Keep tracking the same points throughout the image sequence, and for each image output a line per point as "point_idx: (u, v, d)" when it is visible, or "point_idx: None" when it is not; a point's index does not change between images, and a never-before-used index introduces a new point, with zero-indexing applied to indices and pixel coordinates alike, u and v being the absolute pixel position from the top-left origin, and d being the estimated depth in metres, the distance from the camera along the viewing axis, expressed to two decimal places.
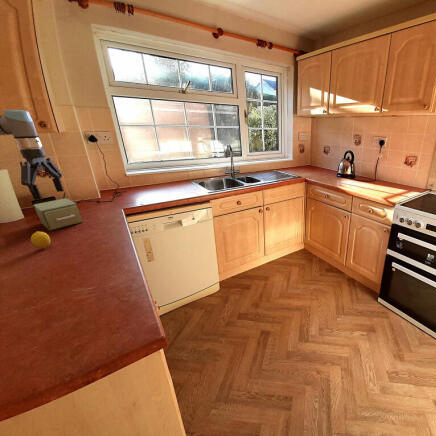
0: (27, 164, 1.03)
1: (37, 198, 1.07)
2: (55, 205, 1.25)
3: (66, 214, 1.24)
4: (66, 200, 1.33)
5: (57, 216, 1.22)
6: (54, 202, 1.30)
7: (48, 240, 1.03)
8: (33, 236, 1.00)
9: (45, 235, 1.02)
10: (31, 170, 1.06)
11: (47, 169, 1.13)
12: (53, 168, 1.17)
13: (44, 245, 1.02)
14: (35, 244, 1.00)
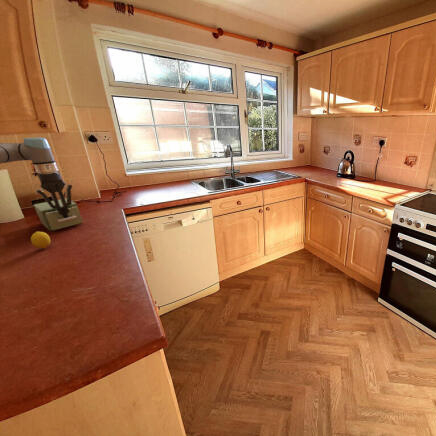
0: (39, 192, 1.11)
1: None
2: None
3: None
4: (66, 200, 1.33)
5: (58, 217, 1.20)
6: None
7: (48, 240, 1.03)
8: (33, 236, 1.00)
9: (45, 235, 1.02)
10: (51, 194, 1.15)
11: (59, 194, 1.17)
12: (67, 195, 1.19)
13: (44, 245, 1.02)
14: (35, 244, 1.00)
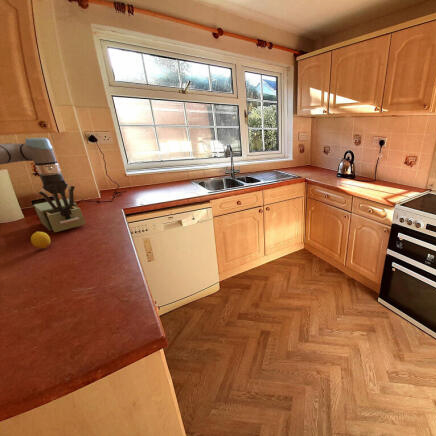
0: (41, 194, 1.08)
1: None
2: (55, 205, 1.25)
3: (70, 216, 1.21)
4: None
5: (60, 219, 1.18)
6: (54, 202, 1.30)
7: (48, 240, 1.03)
8: (33, 236, 1.00)
9: (45, 235, 1.02)
10: (53, 196, 1.13)
11: (61, 195, 1.14)
12: (69, 196, 1.17)
13: (44, 245, 1.02)
14: (35, 244, 1.00)
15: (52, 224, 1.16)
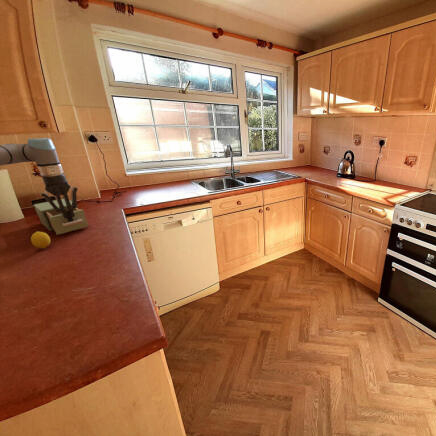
0: (44, 195, 1.06)
1: None
2: None
3: None
4: None
5: (63, 221, 1.15)
6: (54, 202, 1.30)
7: (48, 240, 1.03)
8: (33, 236, 1.00)
9: (45, 235, 1.02)
10: (56, 197, 1.10)
11: (64, 197, 1.12)
12: (72, 198, 1.14)
13: (44, 245, 1.02)
14: (35, 244, 1.00)
15: (55, 226, 1.13)
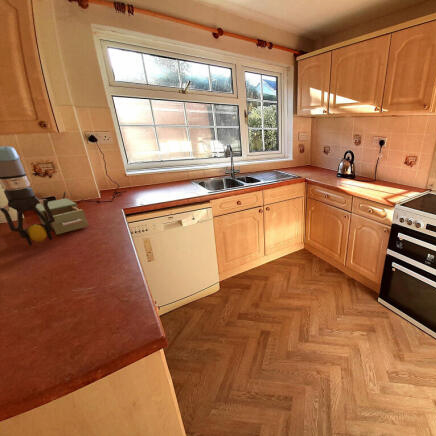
0: (3, 210, 0.92)
1: None
2: (55, 205, 1.25)
3: (72, 218, 1.18)
4: (66, 200, 1.33)
5: (63, 220, 1.16)
6: (54, 202, 1.30)
7: (45, 233, 1.02)
8: (29, 229, 0.99)
9: (42, 228, 1.01)
10: (17, 213, 0.96)
11: None
12: (46, 211, 1.02)
13: (40, 238, 1.01)
14: (31, 237, 0.99)
15: (54, 226, 1.14)
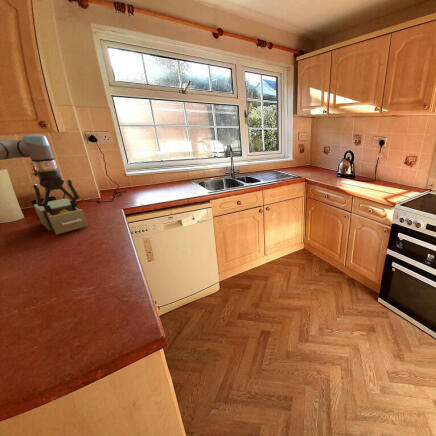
0: (35, 187, 1.10)
1: None
2: (55, 205, 1.25)
3: (72, 218, 1.18)
4: (66, 200, 1.33)
5: (63, 220, 1.16)
6: (54, 202, 1.30)
7: None
8: (60, 213, 1.19)
9: None
10: (45, 191, 1.14)
11: (62, 190, 1.18)
12: (71, 190, 1.21)
13: None
14: None
15: (54, 226, 1.14)
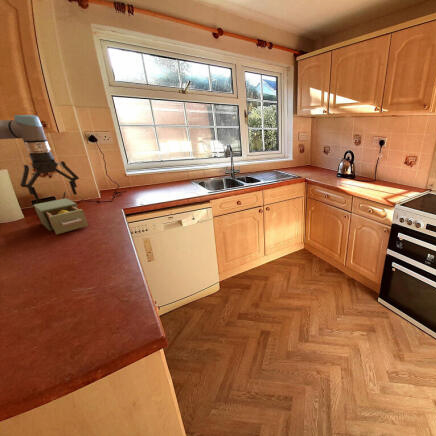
0: (25, 167, 1.06)
1: (36, 200, 1.12)
2: (55, 205, 1.25)
3: (72, 218, 1.19)
4: (66, 200, 1.33)
5: (63, 220, 1.16)
6: (54, 202, 1.30)
7: None
8: (59, 213, 1.19)
9: None
10: (35, 173, 1.10)
11: (58, 172, 1.15)
12: (68, 171, 1.18)
13: None
14: None
15: (54, 226, 1.14)
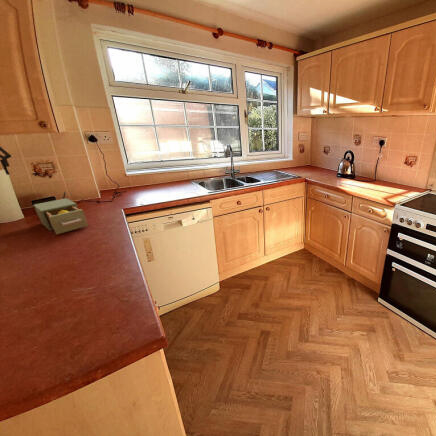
0: None
1: None
2: (55, 205, 1.25)
3: (72, 218, 1.19)
4: (66, 200, 1.33)
5: (63, 220, 1.16)
6: (54, 202, 1.30)
7: None
8: (59, 213, 1.19)
9: None
10: None
11: None
12: None
13: None
14: None
15: (54, 226, 1.14)
